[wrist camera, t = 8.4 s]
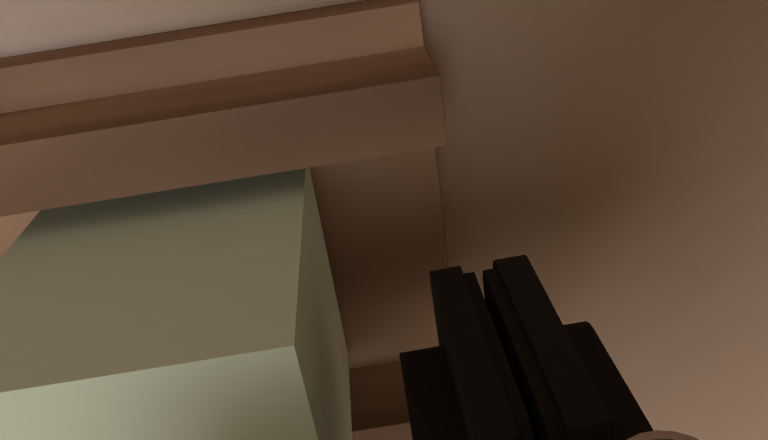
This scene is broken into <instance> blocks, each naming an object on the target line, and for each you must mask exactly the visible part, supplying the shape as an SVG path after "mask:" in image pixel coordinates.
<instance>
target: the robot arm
mask: <svg viewBox="0 0 768 440" xmlns="http://www.w3.org/2000/svg"><path fill="white" fill-rule="evenodd" d="M429 276H430V284H431V291H432V299H433V306H434V313H435V320H436V327H437V335H438V342H439V346H437V347H431V348H425V349H419V350H414V351H408V352H402V353H399V355H400V362H401V368H402V375H403V381H404V387H405V394H406V400H407V407H408V413H409V419H410V426H411V432H412V439H413V440H698V439H696V438H694V437H692V436H689V435H685V434H682V433H678V432H674V431H660V430H656V431H653V429H652V427H651V425H650V424H649V422H648V420H647V419H646V417H645V415H644V414H643V412H642V410H641V408H640V407H639V405H638V403H637V402H636V400H635V398H634V397H633V395H632V393H631V391H630V390H629V388H628V386H627V385H626V383H625V381H624V380H623V378H622V376H621V374H620V373H619V371H618V369H617V368H616V366H615V364H614V363H613V361H612V359H611V357H610V356H609V354H608V352H607V351H606V349H605V347H604V346H603V344H602V342H601V340H600V339H599V337H598V335H597V334H596V332H595V330H594V329H593V327H592V326H591V325H590V323H588V322H586V321H585V322H579V323H573V324H567V325H563V324H562V322H561V320H560V318H559V316H558V315H557V313H556V311H555V309H554V307H553V305H552V303H551V301H550V299H549V297H548V296H547V294H546V292H545V290H544V288H543V286H542V284H541V282H540V280H539V278H538V277H537V275H536V273H535V271H534V269H533V267H532V265H531V263H530V261H529V259H528V258H527V256H526V255H521V256H515V257H510V258H504V259H498V260H494V261H493V269H488V270H483V284H484V295H485V300H484V297H483V294H482V292H481V289H480V286H479V283H478V281H477V278H476V275H475V273H474V272H471V273H465V274H463V271H462V269H461V266H456V267H450V268H444V269H439V270H433V271H429Z"/></svg>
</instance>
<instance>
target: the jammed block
mask: <svg viewBox="0 0 768 440" xmlns="http://www.w3.org/2000/svg"><path fill="white" fill-rule="evenodd" d="M0 440H352V423H351V402H350V380H349V359H348V351H347V346H346V341H345V336H344V332H343V327H342V322H341V317H340V312H339V307H338V303H337V298H336V293H335V288H334V283H333V279H332V274H331V269H330V264H329V259H328V255H327V250H326V245H325V240H324V235H323V230H322V226H321V221H320V216H319V211H318V206H317V202H316V197H315V192H314V187H313V182H312V178H311V173H310V168H304V169H297V170H291V171H285V172H279V173H272V174H266V175H260V176H253V177H247V178H241V179H235V180H228V181H222V182H216V183H210V184H203V185H197V186H191V187H184V188H178V189H172V190H166V191H159V192H153V193H147V194H140V195H134V196H128V197H122V198H115V199H109V200H103V201H97V202H90V203H84V204H78V205H71V206H65V207H59V208H53V209H46V210H40V212H39V213H38V214H37V215H36V216H35V218H34V219H33V220H32V221H31V222H30V224H29V225H28V226H27V227H26V228H25V230H24V231H23V232H22V233H21V234H20V236H19V237H18V238H17V239H16V240H15V242H14V243H13V244H12V245H11V247H10V248H9V249H8V250H7V251H6V253H5V254H4V255H3V256H2V257H1V259H0Z"/></svg>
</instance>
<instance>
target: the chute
mask: <svg viewBox="0 0 768 440" xmlns="http://www.w3.org/2000/svg"><path fill="white" fill-rule="evenodd" d="M442 146H447V139H446V129H445V120H444V110H443V100H442V90H441V81H440V75H439V73H438V71H437V69H436V68H435V66H434V64H433V62H432V60H431V58H430V57H429V55H428V53H427V51H426V49H425V47H424V42H423V34H422V25H421V16H420V7H419V1H418V0H366V1H360V2H353V3H347V4H341V5H334V6H328V7H322V8H315V9H309V10H303V11H296V12H290V13H284V14H278V15H271V16H265V17H259V18H252V19H246V20H240V21H233V22H227V23H221V24H214V25H208V26H202V27H196V28H189V29H183V30H177V31H170V32H164V33H158V34H151V35H145V36H139V37H133V38H126V39H120V40H114V41H107V42H101V43H95V44H88V45H82V46H76V47H69V48H63V49H57V50H51V51H44V52H38V53H32V54H25V55H19V56H13V57H6V58H0V259H1V257H2V256H3V255H4V254H5V253H6V251H7V250H8V249H9V248H10V247H11V245H12V244H13V243H14V242H15V240H16V239H17V238H18V237H19V236H20V234H21V233H22V232H23V231H24V230H25V228H26V227H27V226H28V225H29V224H30V222H31V221H32V220H33V219H34V218H35V216H36V215H37V214H38V213H39V212H40V210H46V209H53V208H59V207H65V206H71V205H78V204H84V203H90V202H97V201H103V200H109V199H115V198H122V197H128V196H134V195H140V194H147V193H153V192H159V191H166V190H172V189H178V188H184V187H191V186H197V185H203V184H210V183H216V182H222V181H228V180H235V179H241V178H247V177H253V176H260V175H266V174H272V173H279V172H285V171H291V170H297V169H304V168H310V173H311V178H312V182H313V187H314V192H315V197H316V202H317V206H318V211H319V216H320V221H321V226H322V230H323V235H324V240H325V245H326V250H327V255H328V259H329V264H330V269H331V274H332V279H333V283H334V288H335V293H336V298H337V303H338V307H339V312H340V317H341V322H342V327H343V332H344V336H345V341H346V346H347V351H348V359H349V380H350V402H351V423H352V440H413V439H412V432H411V426H410V419H409V413H408V407H407V400H406V394H405V387H404V381H403V375H402V368H401V362H400V355H399V353H402V352H408V351H414V350H419V349H425V348H431V347H437V346H439V342H438V335H437V327H436V320H435V313H434V306H433V299H432V291H431V284H430V276H429V271H433V270H439V269H444V268H449V266H448V257H447V249H446V240H445V231H444V222H443V213H442V204H441V195H440V186H439V177H438V168H437V159H436V150H435V148H436V147H442Z"/></svg>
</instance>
